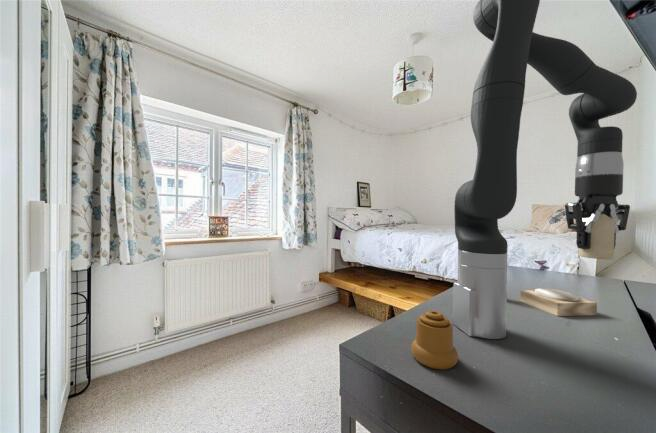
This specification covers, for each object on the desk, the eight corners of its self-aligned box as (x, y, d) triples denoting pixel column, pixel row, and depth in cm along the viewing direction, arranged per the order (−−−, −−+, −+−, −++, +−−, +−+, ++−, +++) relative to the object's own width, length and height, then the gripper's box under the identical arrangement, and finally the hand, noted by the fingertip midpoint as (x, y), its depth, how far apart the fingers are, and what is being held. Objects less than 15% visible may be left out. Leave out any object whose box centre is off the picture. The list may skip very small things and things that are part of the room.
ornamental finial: (402, 357, 44) (424, 343, 49) (446, 378, 39) (465, 360, 44) (403, 311, 44) (424, 302, 49) (446, 326, 39) (465, 313, 44)
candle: (621, 260, 55) (622, 214, 55) (591, 258, 56) (592, 213, 56) (599, 256, 60) (600, 214, 60) (572, 255, 61) (573, 213, 61)
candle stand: (557, 316, 64) (557, 300, 64) (520, 301, 75) (520, 287, 75) (596, 315, 65) (596, 299, 65) (554, 300, 76) (554, 287, 76)
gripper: (588, 171, 53) (585, 251, 54) (647, 173, 55) (645, 251, 55) (553, 176, 61) (551, 246, 61) (606, 178, 62) (604, 247, 62)
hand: (595, 248), depth 58 cm, fingers closed on candle, 5 cm apart
